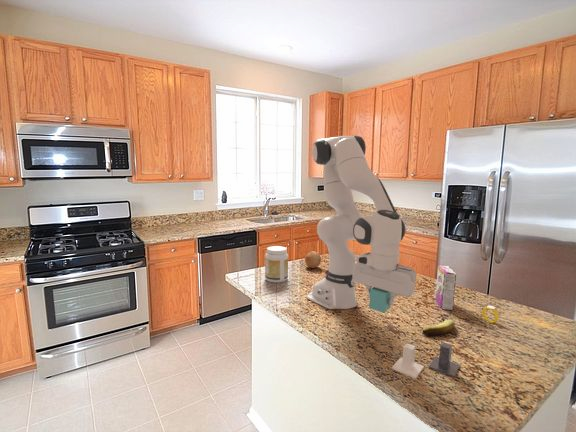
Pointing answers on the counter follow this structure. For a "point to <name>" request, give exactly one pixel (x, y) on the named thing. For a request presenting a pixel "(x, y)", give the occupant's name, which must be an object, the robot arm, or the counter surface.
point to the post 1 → (408, 363)
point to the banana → (432, 329)
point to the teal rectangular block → (379, 300)
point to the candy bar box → (445, 287)
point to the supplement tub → (276, 264)
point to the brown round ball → (313, 259)
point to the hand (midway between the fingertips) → (380, 301)
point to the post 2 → (444, 361)
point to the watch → (493, 311)
